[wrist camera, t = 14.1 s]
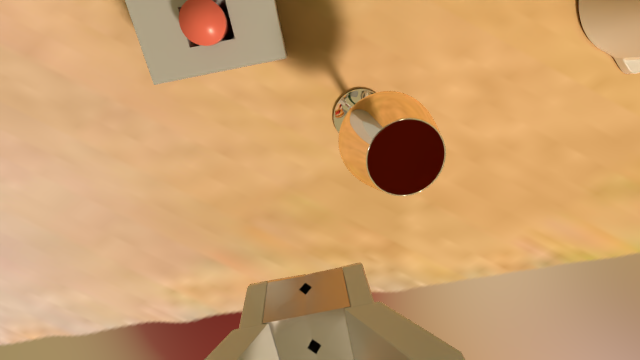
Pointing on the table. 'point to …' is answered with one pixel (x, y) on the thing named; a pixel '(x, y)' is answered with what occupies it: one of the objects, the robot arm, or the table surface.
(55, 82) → the table surface
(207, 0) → the plunger
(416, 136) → the wineglass
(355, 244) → the table surface
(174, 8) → the grey holed block
